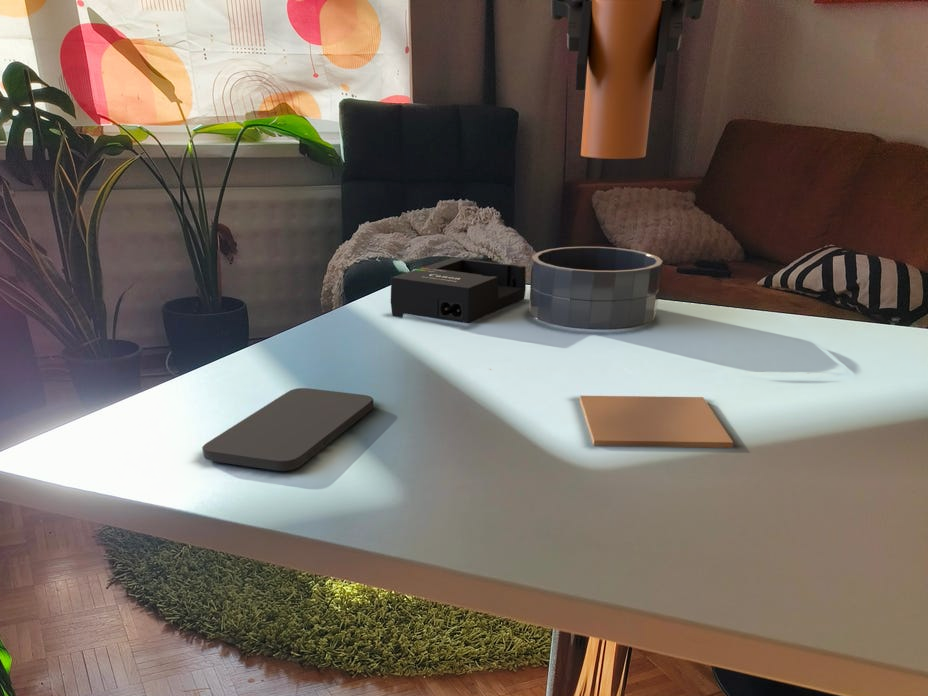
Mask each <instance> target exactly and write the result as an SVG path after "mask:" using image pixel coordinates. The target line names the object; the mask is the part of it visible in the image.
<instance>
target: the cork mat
mask: <svg viewBox="0 0 928 696" xmlns="http://www.w3.org/2000/svg"><path fill="white" fill-rule="evenodd" d="M579 403H580V406H581V410H582V413H583V416H584V420H585V423H586V426H587V429H588V433H589V436H590V440H591V442H592V446H594V447H651V448H652V447H661V448H665V447H667V448H729V449H730V448H733V447H734V441H733V440H732V438H731V437H730V435H729V434H728V432H727V430H726V429H725V428H724V426H723V425H722V423H721V421H720V420H719V419H718V417H717V415H716V414H715V413H714V411H713V410H712V408H711V406H710V405H709V404H708V402H707V400H706V399H705V397H703V396H645V395H642V396H641V395H639V396H638V395H636V396H635V395H580V396H579Z"/></svg>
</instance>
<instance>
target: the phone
mask: <svg viewBox="0 0 928 696" xmlns="http://www.w3.org/2000/svg"><path fill="white" fill-rule="evenodd" d="M373 409H374V398H373V397H372V396H370V395H367V394H359V393H351V392H344V391H343V392H342V391H334V390H326V389H317V388H307V387H299V388H298V387H297V388H293V389H290V390H288V391H286V392H285V393H284V394H282V395H280V396H279V397H277V398H276V399H274V400H272V401H271V402H269V403H267V404H266V405H264V406H263V407H261V408H260V409H258V410H256V411H255V412H253V413H252V414H250V415H249V416H247V417H245V418H244V419H242V420H241V421H239V422H237V423H236V424H234V425H233V426H231V427H230V428H228V429H227V430H224V431H223V432H222V433H220V434H219V435H217V436H215V437H214V438H212V439H211V440H209V441H208V442H206V443H205V444H204V445H203V446H202V455H203V458H204V459H205V460H207V461H209V462H214V463H215V462H216V463H222V464H229V465H236V466H243V467H250V468H256V469H263V470H271V471H280V472H289V471H293V470H296V469H298V468H300V467H302V466H303V465H304V464H305V463H307V462H308V461H309V460H311V459H312V458H314V456H316V455H317V454H318V453H319V452H321V451H322V450H323V449H324V448H325V447H327V446H328V445H329V444H331V443H332V442H333V441H335V440H336V439H337V438H338V437H339V436H340V435H341V434H343V433H344V432H345V431H348V429H350V428H351V427H352V426H353V425H354V424H356V423H357V422H358V421H359V420H361V419H362V418H363V417H365V416H366V415H367V414H368V413H369V412H371V411H372V410H373Z"/></svg>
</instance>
